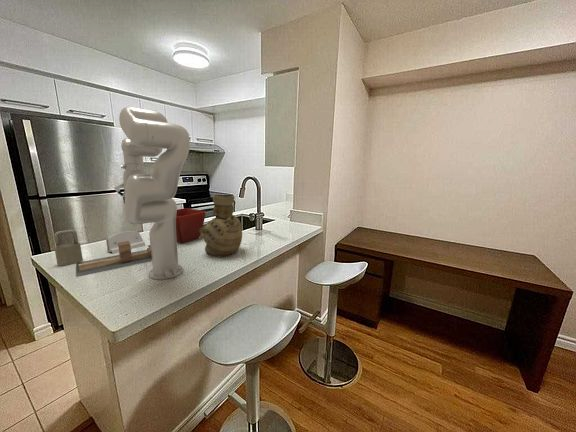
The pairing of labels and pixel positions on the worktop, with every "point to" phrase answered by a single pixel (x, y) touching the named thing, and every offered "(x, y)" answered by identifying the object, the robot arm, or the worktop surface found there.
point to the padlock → (67, 250)
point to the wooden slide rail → (111, 266)
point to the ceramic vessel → (222, 228)
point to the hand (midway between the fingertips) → (138, 204)
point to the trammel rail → (113, 260)
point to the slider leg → (125, 251)
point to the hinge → (129, 236)
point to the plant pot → (188, 224)
